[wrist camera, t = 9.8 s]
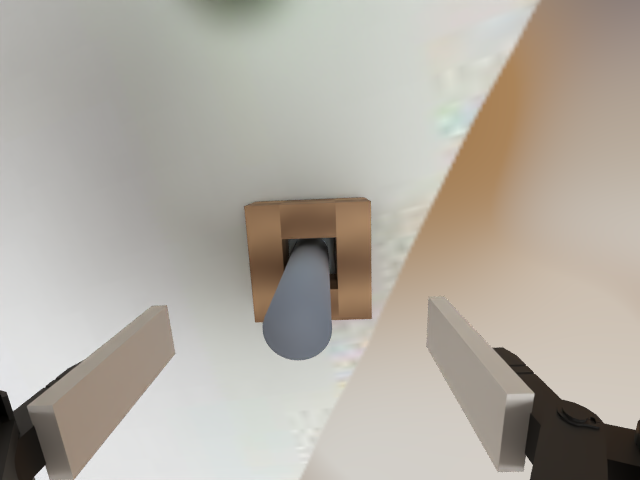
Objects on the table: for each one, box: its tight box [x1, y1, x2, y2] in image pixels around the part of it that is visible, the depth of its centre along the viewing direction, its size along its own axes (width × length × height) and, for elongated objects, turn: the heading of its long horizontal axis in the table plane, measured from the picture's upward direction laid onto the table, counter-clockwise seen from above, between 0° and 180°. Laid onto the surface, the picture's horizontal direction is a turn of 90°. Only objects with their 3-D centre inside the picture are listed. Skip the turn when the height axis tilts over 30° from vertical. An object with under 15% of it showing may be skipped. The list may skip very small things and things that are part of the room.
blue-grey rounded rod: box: [263, 238, 332, 360], centre depth 24 cm, size 4×4×16 cm
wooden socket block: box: [244, 197, 372, 322], centre depth 29 cm, size 11×11×4 cm
